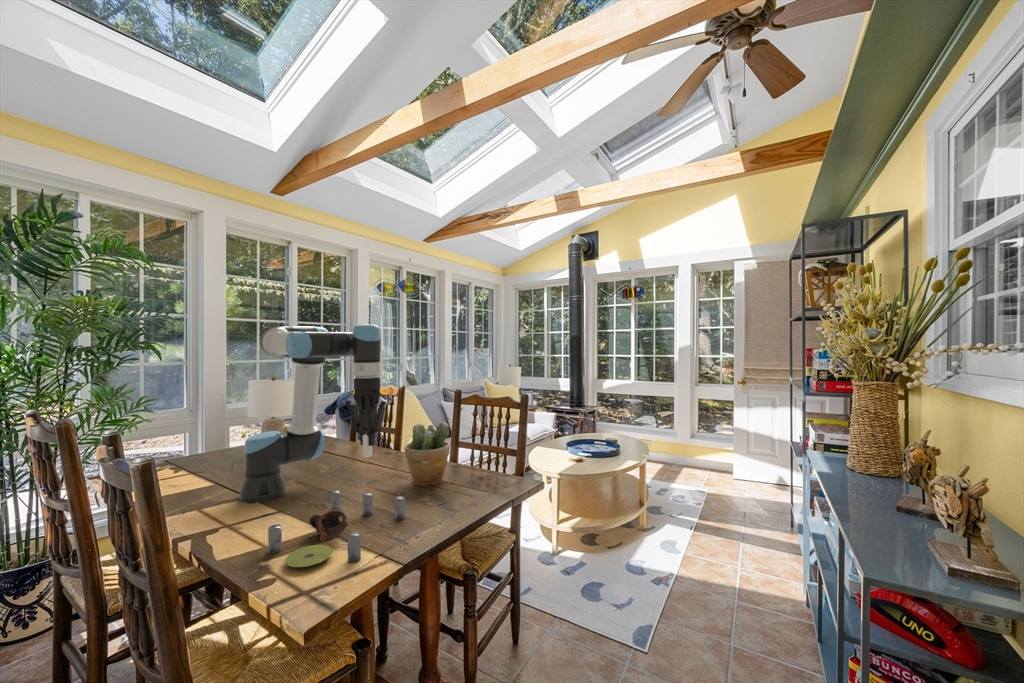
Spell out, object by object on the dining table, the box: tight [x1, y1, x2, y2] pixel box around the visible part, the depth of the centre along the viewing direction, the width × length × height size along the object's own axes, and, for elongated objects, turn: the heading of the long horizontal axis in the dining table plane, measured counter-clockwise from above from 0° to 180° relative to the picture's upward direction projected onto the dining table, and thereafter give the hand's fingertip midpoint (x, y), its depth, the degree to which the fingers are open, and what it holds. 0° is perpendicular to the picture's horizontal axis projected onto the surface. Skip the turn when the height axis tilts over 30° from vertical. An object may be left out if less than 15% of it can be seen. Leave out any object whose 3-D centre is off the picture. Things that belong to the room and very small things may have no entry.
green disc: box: [284, 544, 334, 568], centre depth 109 cm, size 11×11×2 cm
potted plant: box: [403, 421, 451, 488], centre depth 169 cm, size 18×19×25 cm
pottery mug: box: [309, 509, 349, 543], centre depth 123 cm, size 12×9×8 cm
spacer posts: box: [267, 489, 406, 564], centre depth 125 cm, size 27×30×7 cm
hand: (367, 456), depth 123 cm, fingers closed
